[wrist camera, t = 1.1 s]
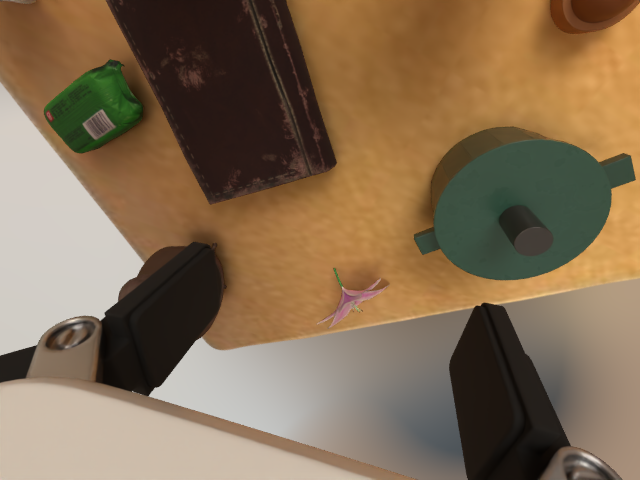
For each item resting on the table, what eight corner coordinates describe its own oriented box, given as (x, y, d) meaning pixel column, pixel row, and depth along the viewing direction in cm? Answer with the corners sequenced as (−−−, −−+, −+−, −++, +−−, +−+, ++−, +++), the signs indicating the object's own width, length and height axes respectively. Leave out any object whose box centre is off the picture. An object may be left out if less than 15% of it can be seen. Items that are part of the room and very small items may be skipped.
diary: (262, -96, 28) (238, -125, 24) (339, 159, 39) (332, 170, 34) (124, -5, 35) (86, -15, 30) (222, 193, 45) (204, 206, 41)
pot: (392, 173, 38) (391, 198, 31) (569, 86, 30) (624, 92, 23) (434, 256, 42) (442, 295, 35) (598, 199, 34) (651, 235, 27)
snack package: (165, 112, 41) (137, 117, 36) (95, 154, 47) (64, 163, 42) (132, 56, 38) (97, 54, 34) (62, 109, 44) (25, 113, 39)
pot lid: (409, 183, 30) (411, 205, 25) (583, 102, 24) (629, 111, 19) (462, 289, 35) (472, 325, 30) (618, 245, 29) (662, 281, 24)
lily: (323, 304, 53) (339, 354, 46) (289, 270, 45) (303, 325, 38) (383, 272, 51) (409, 320, 45) (360, 231, 43) (387, 281, 36)
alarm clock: (239, 297, 55) (170, 399, 39) (204, 293, 57) (122, 389, 40) (223, 228, 48) (130, 315, 31) (184, 225, 50) (74, 307, 33)
